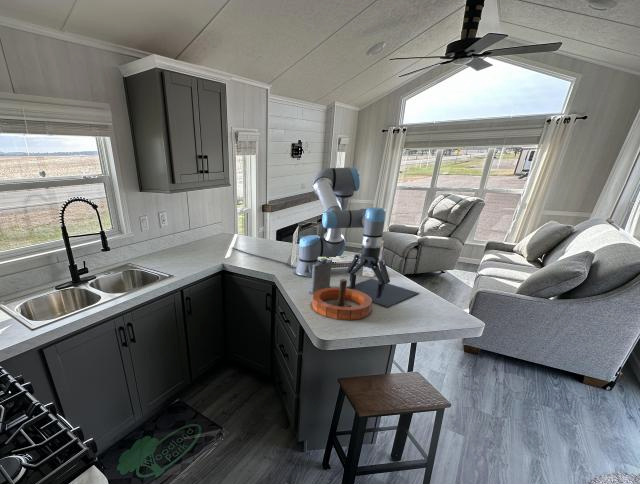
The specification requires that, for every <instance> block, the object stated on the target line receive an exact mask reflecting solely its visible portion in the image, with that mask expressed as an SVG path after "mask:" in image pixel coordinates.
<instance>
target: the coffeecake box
mask: <svg viewBox="0 0 640 484" xmlns="http://www.w3.org/2000/svg"><path fill="white" fill-rule="evenodd" d="M384 243H385V240H383V239H382V242H381V246H380V248H381V249H380V255H379V260H382V257H383V251H384V250H383V249H384ZM378 266H379V269H380V265H379V263H378ZM362 276H363V277H367V278H368V277H369V278H375V277H376V275H375V273H374V271H373V270H372V269H371V268H368V267H364V266H363V267H362Z"/></svg>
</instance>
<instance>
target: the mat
mask: <svg viewBox="0 0 640 484" xmlns="http://www.w3.org/2000/svg"><path fill="white" fill-rule="evenodd" d="M378 283H380V282H379V280H378V279H374V278H371V279H370V278H369V279H367V280H365V281H362V282H359V283H357V284H356V283H355V288H353V289H354V290H357V291H360V292H363V293H365V294H367V295H368V296H370V298H371V300H372V303H373V304H376V305H379V306H382V307H384V308H389V307H392V306H394V305H396V304H399V303H400V302H403V301H405V300H407V299H409V298H412V297H414V296H417V295H419V292H418V291H414V290H410V289H407V288H404V287H400V286H397V285H394V284H392V283H387V284H385V287H384V291H382V295H381V297H380V298H376V294H377V287H378ZM346 288H349V289H350V286H348V287H347V286H346Z"/></svg>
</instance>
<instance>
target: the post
mask: <svg viewBox="0 0 640 484" xmlns="http://www.w3.org/2000/svg"><path fill="white" fill-rule="evenodd" d="M347 284H348V280H347V279H344V278H342V279H340V280H339V287H338V288H339V298H338V299H337V301H335V302H333V303H330V305H333V306H338V307H352V304H349V303H346V302H345V300H346V299H345V293H346V288H347Z"/></svg>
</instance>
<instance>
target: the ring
mask: <svg viewBox="0 0 640 484" xmlns="http://www.w3.org/2000/svg"><path fill="white" fill-rule="evenodd" d="M339 288H340V287H339V286H338V287H336V286H334V287H329V288H325V289H321V290H318V291H316V292H315V293H314V294H313V293H312V309H313V310H314V311H315V312H316V313H317V314H320V315H322V316H323V317H327V318H330V319H335V320H343V321H345V320H346V321H353V320H360V319H363V318H365V317H367V316H369V314H370V313H371V312H372V306H373V305H372V304H373V302H372V300H371V298H370V296H368V295H367V294H365V293H363V292H360V291H357V290H354V289H349V288H347V287H346V293H345V300H348V301H352V302H354V303H357V304H359V305H354V306H351V307H338V306H333V305H331V304H329V303H327V302H324V301H326V300H333V299H336V300H338V298H339Z"/></svg>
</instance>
